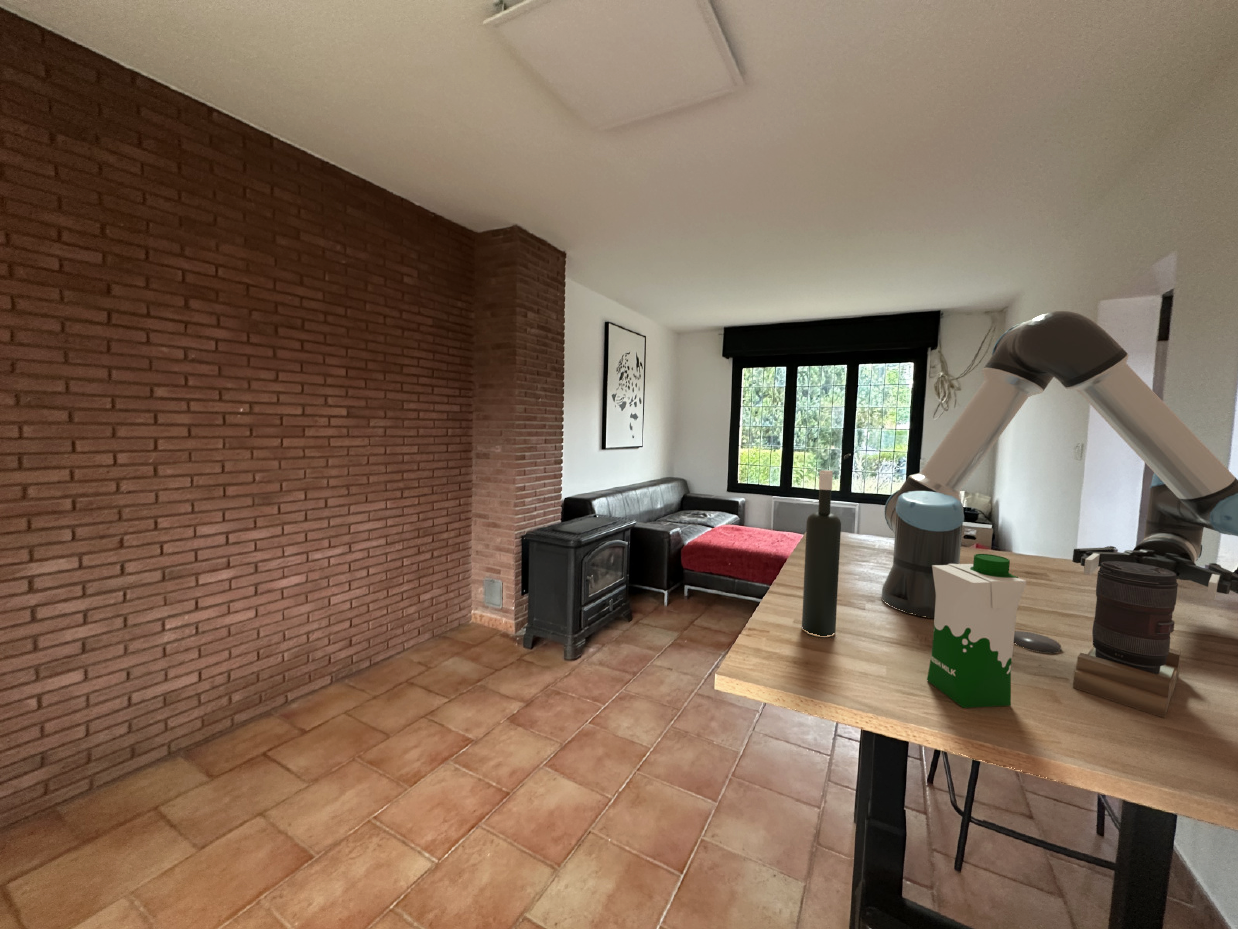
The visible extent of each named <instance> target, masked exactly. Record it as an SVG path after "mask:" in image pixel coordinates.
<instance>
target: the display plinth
mask: <svg viewBox="0 0 1238 929" xmlns="http://www.w3.org/2000/svg"><path fill="white" fill-rule="evenodd" d="M1181 654H1182V651H1181V650H1179V649H1176V648H1171V647H1170V648H1169V653H1168V655H1167V658H1166V663H1165V664H1164V665H1163V666H1161V667H1160V672H1159V674H1158V675H1156V674H1153V673H1150V672H1146V671H1143V670H1139V669H1136V668H1132V667H1129V666H1125V665H1122V664H1119V663H1115V662H1112V661H1108V660H1105V659H1101V658H1098V657H1095V647H1094V646H1093V645H1092V647H1091V649H1090V650H1089V652H1088V653H1084V652H1079V654H1078V655H1077V660H1076V668H1075V670H1074V673H1073V675H1074V676H1073V682H1072V688H1073V689H1077V690H1080V691H1083V692H1084V693H1085V692H1086V693H1088V694H1091V695H1094V696H1097V697H1100V698H1103V699H1105V700H1108V701H1109V700H1110V701H1112V702H1115V703H1118V704H1121V705H1124V706H1128V707H1130V708H1131V709H1135V710H1139V711H1142V712H1145V713H1148V714H1150V715H1154V716H1155V717H1156V716H1157V717H1160V718H1163V719H1165V717H1166V714H1167V711H1168V709H1169V705H1170V703H1171V700H1172V697H1173V694H1174V691H1175V689H1176V688H1175V687H1176V685H1177V681H1178V678H1179V672H1180V667H1181V666H1180V664H1181Z"/></svg>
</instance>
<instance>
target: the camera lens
mask: <svg viewBox="0 0 1238 929" xmlns="http://www.w3.org/2000/svg"><path fill="white" fill-rule="evenodd" d="M1096 576H1097V578H1096V586H1095V589H1096V590H1095V597H1096V601H1095V611H1094V620H1093V624H1092V630H1091V631H1092V647H1093V646H1094V647H1095V657H1098V658H1101V659H1105V660H1108V661H1112V662H1115V663H1119V664H1122V665H1125V666H1129V667H1132V668H1136V669H1139V670H1143V671H1146V672H1150V673H1153V674H1156V675H1158V674H1159V672H1160V667H1161V666H1163V665H1164V664H1165V663H1166V658H1167V655H1168V653H1169V648H1171V647H1170V646H1171V634H1172V633H1173V632H1174V631H1175V630H1174V629H1175V620H1173V614H1174V611H1175V607H1176V604H1177V596H1178V588H1179V584H1178V579H1176V573H1174V572H1172V571H1169V570H1167V569H1163V568H1159V567H1155V566H1150V565H1144V564H1138V563H1130V562H1120V561H1106V562H1102V563H1101V566H1100V567H1099V568H1098V570H1097V575H1096Z"/></svg>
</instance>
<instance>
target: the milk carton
mask: <svg viewBox="0 0 1238 929" xmlns="http://www.w3.org/2000/svg"><path fill="white" fill-rule="evenodd" d="M1010 563H1011V560H1010V559H1009V558H1007V557H1004V556H1000V555H996V554H991V553H990V554H989V553H977V554H976V553H975V554H974V555H973V563H959V564H948V565H932V569H933V576H934V584H935V592H936V603H935V617H934V619H933V620H934V621H933V633H932V647H931V655H930V660H929V661H930V662H929V667H928V672H927V677H926V680H928V683H930V684H931V685H933V686H934V687H935V688H937V689H938V690H939V691H941V692H942V693H943V694H944V695H945V696H947V697H948V698H950V699H951V700H952V701H953V702H954V703H957V704H958V705H959V706H960V707H961V708H963V709H968V708H970V709H971V708H987V707H991V708H992V707H1006V706H1007V707H1008V706H1012V675H1011V674H1012V664H1013V662H1012V661H1013V652H1014V651H1013V650H1014V632H1015V631H1016V620H1017V619H1016V618H1017V611H1018V608H1019V604H1020V602H1021V599H1022V597H1023V593H1024V590H1025V587H1026V586H1027V585H1026V584H1027V580H1025V579H1023V578H1019V577H1018V576H1016V575H1013V574H1012V573H1011V572H1010V565H1011V564H1010Z"/></svg>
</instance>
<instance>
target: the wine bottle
mask: <svg viewBox="0 0 1238 929" xmlns="http://www.w3.org/2000/svg"><path fill="white" fill-rule="evenodd" d="M833 475H834V470H828V469H827V470H826V469H823V470H822V469H821V470H819V478H818V479H819V480H818V481H819V482H818V490H819V491H818V492H819V494H818V510H817V512H813V513H810V514H809V515H808V517H807V518H806V524H805V525H806V527H805V528H806V531H805V551H804V573H803V574H804V575H803V596H802V597H803V598H802V615H801V616H802V617H801V619H802V620H801V628H802V627H803V629H804V630H806V631H808V632H809V633H813V634H817V635H820V636H827V635H832V634H833V633H835V634H836V626H837V625H836V624H837V611H838V610H837V607H838V592H839V590H838V588H839V571H840V570H839V569H840V552H841V535H842V534H841V533H842V522H841V519H840V518H839V517H838V516H837V515H836V514H834V513H831V503H832V502H831V501H832V490H833Z"/></svg>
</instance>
